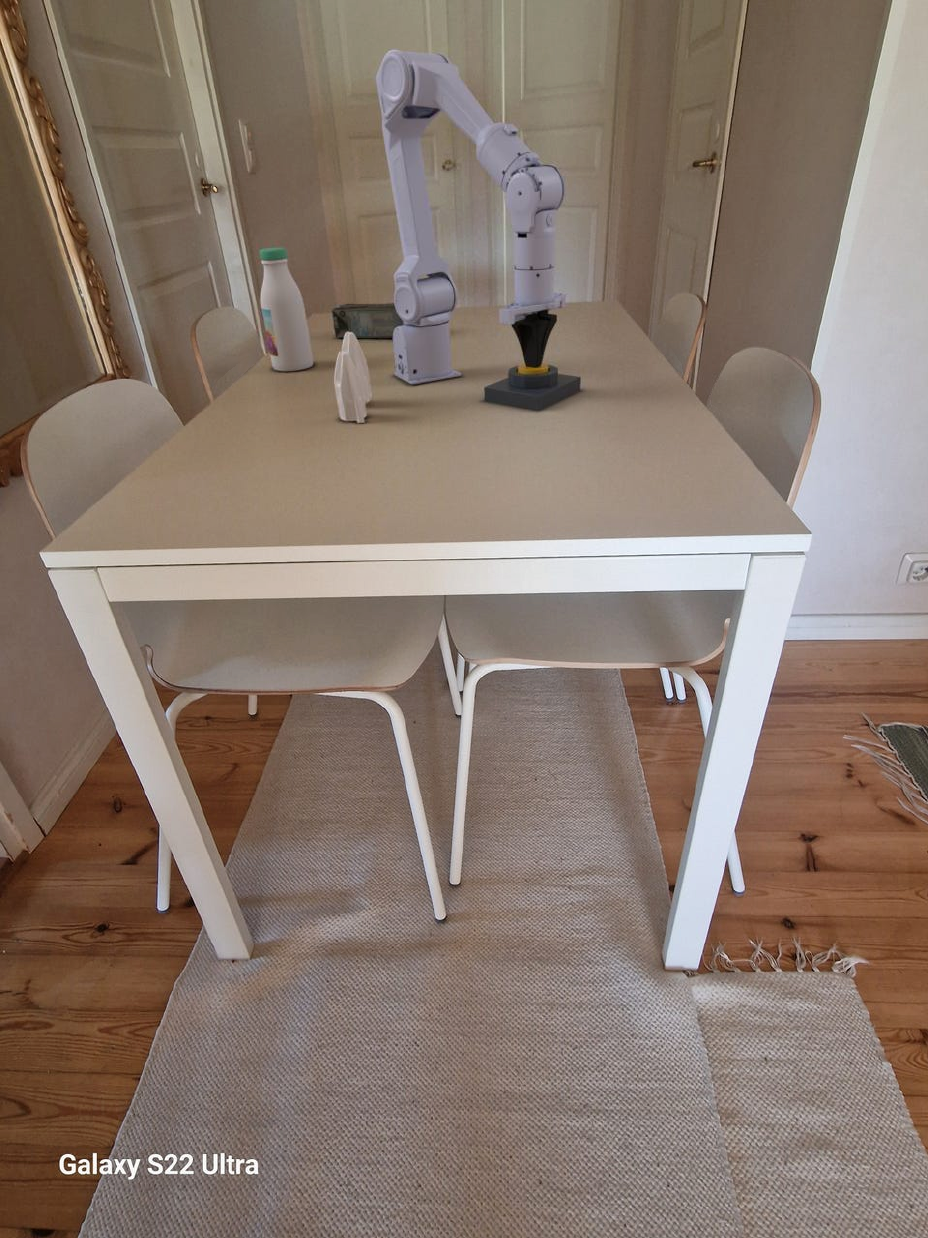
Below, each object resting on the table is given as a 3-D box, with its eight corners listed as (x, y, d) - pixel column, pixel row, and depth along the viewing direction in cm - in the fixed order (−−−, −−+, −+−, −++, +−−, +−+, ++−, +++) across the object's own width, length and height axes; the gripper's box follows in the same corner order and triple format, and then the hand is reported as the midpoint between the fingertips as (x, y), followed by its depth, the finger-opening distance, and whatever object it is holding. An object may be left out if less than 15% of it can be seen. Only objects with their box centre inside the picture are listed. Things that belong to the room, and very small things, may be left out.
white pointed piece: (349, 400, 110) (339, 326, 104) (375, 399, 110) (366, 325, 104) (336, 424, 100) (324, 344, 94) (365, 423, 100) (354, 343, 94)
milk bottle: (318, 361, 133) (300, 245, 122) (307, 371, 127) (286, 249, 116) (280, 362, 134) (258, 246, 123) (267, 372, 128) (243, 251, 117)
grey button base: (538, 411, 101) (538, 383, 99) (484, 401, 106) (483, 374, 104) (580, 390, 109) (581, 364, 106) (527, 382, 114) (528, 357, 112)
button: (537, 385, 103) (537, 371, 102) (512, 381, 106) (512, 367, 105) (553, 378, 106) (554, 364, 105) (529, 374, 109) (529, 361, 108)
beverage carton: (349, 330, 156) (345, 299, 153) (428, 332, 152) (426, 299, 148) (334, 338, 150) (329, 306, 146) (416, 340, 145) (414, 306, 142)
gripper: (528, 275, 91) (528, 380, 98) (584, 261, 100) (580, 358, 107) (486, 273, 94) (488, 374, 102) (543, 259, 104) (542, 353, 111)
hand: (533, 366), depth 105 cm, fingers closed, pressing on button
